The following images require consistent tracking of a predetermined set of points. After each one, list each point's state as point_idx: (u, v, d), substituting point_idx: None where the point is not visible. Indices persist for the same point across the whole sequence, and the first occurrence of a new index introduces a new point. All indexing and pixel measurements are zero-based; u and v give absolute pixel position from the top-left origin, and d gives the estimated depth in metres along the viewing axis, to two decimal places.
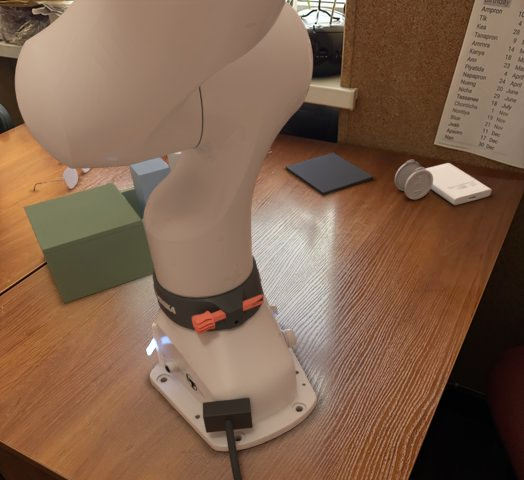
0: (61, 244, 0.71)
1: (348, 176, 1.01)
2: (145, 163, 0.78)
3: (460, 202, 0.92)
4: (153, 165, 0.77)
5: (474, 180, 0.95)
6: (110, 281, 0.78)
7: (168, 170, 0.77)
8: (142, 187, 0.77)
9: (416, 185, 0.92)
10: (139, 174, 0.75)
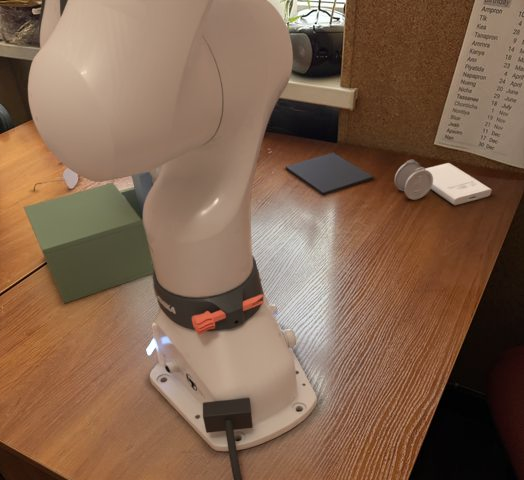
0: (61, 244, 0.71)
1: (348, 176, 1.01)
2: None
3: (460, 202, 0.92)
4: None
5: (474, 180, 0.95)
6: (110, 281, 0.78)
7: None
8: (142, 187, 0.77)
9: (416, 186, 0.92)
10: (139, 174, 0.75)
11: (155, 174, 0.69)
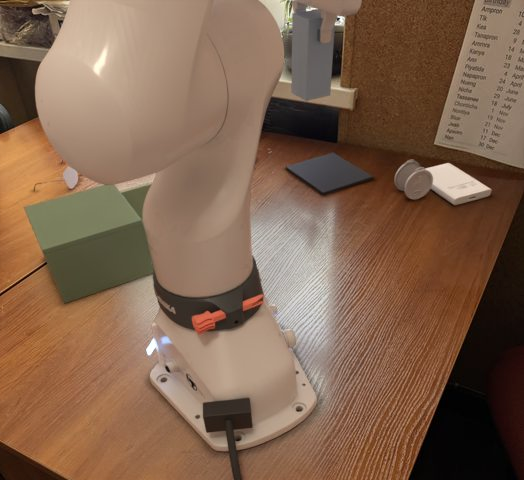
0: (61, 244, 0.71)
1: (348, 176, 1.01)
2: (309, 13, 0.81)
3: (460, 202, 0.92)
4: (318, 14, 0.80)
5: (474, 180, 0.95)
6: (110, 281, 0.78)
7: None
8: (309, 33, 0.80)
9: (416, 185, 0.92)
10: (308, 19, 0.78)
11: (339, 6, 0.72)
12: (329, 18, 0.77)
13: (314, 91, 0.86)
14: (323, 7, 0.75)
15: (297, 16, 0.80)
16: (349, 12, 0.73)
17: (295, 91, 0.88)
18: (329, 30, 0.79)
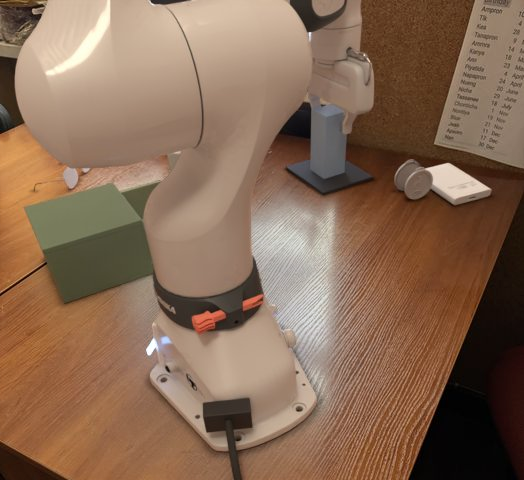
0: (61, 244, 0.71)
1: (348, 176, 1.01)
2: (326, 108, 0.95)
3: (460, 202, 0.92)
4: (334, 110, 0.94)
5: (474, 180, 0.95)
6: (110, 281, 0.78)
7: None
8: (326, 127, 0.93)
9: (416, 185, 0.92)
10: (326, 116, 0.92)
11: (354, 108, 0.85)
12: (350, 115, 0.89)
13: (331, 170, 1.00)
14: (340, 106, 0.89)
15: (316, 112, 0.94)
16: (363, 112, 0.86)
17: (314, 169, 1.02)
18: (350, 124, 0.92)
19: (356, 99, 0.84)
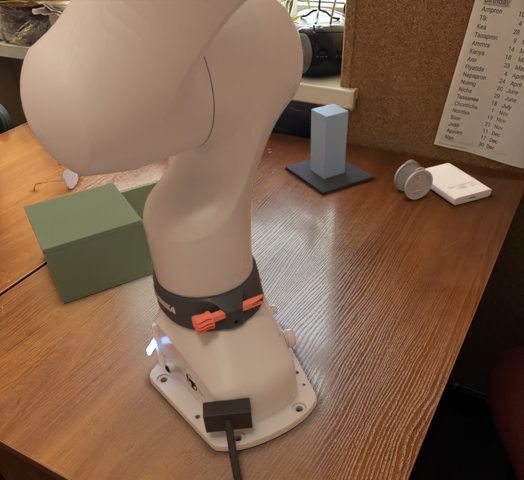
0: (61, 244, 0.71)
1: (348, 176, 1.01)
2: (326, 108, 0.95)
3: (460, 202, 0.92)
4: (334, 110, 0.94)
5: (474, 180, 0.95)
6: (110, 281, 0.78)
7: (347, 113, 0.94)
8: (326, 127, 0.93)
9: (416, 185, 0.92)
10: (326, 116, 0.92)
11: None
12: None
13: (331, 170, 1.00)
14: None
15: (316, 112, 0.94)
16: None
17: (314, 169, 1.02)
18: None
19: None
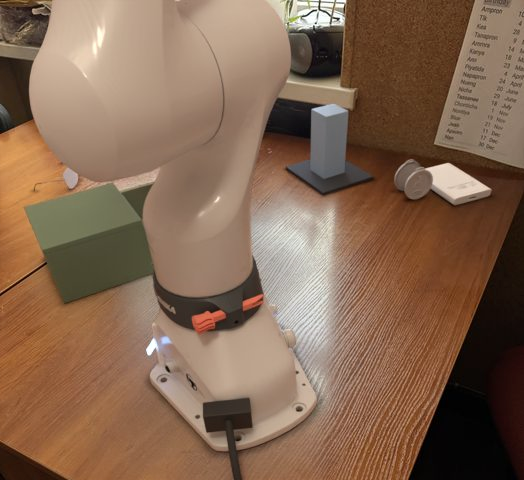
0: (61, 244, 0.71)
1: (348, 176, 1.01)
2: (326, 108, 0.95)
3: (460, 202, 0.92)
4: (334, 110, 0.94)
5: (474, 180, 0.95)
6: (110, 281, 0.78)
7: (347, 113, 0.94)
8: (326, 127, 0.93)
9: (416, 185, 0.92)
10: (326, 116, 0.92)
11: None
12: None
13: (331, 170, 1.00)
14: None
15: (316, 112, 0.94)
16: None
17: (314, 169, 1.02)
18: None
19: None
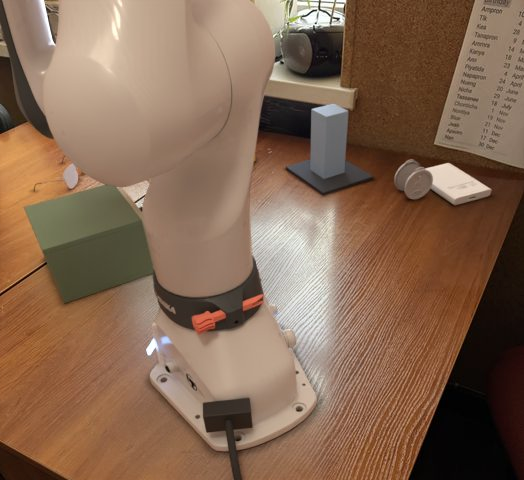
0: (61, 244, 0.71)
1: (348, 176, 1.01)
2: (326, 108, 0.95)
3: (460, 202, 0.92)
4: (334, 110, 0.94)
5: (474, 180, 0.95)
6: (110, 281, 0.78)
7: (347, 113, 0.94)
8: (326, 127, 0.93)
9: (416, 185, 0.92)
10: (326, 116, 0.92)
11: None
12: None
13: (331, 170, 1.00)
14: None
15: (316, 112, 0.94)
16: None
17: (314, 169, 1.02)
18: None
19: None
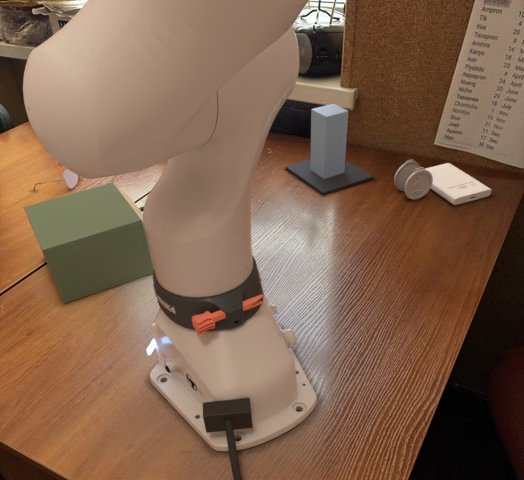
0: (61, 244, 0.71)
1: (348, 176, 1.01)
2: (326, 108, 0.95)
3: (460, 202, 0.92)
4: (334, 110, 0.94)
5: (474, 180, 0.95)
6: (110, 281, 0.78)
7: (347, 113, 0.94)
8: (326, 127, 0.93)
9: (416, 185, 0.92)
10: (326, 116, 0.92)
11: None
12: None
13: (331, 170, 1.00)
14: None
15: (316, 112, 0.94)
16: None
17: (314, 169, 1.02)
18: None
19: None
